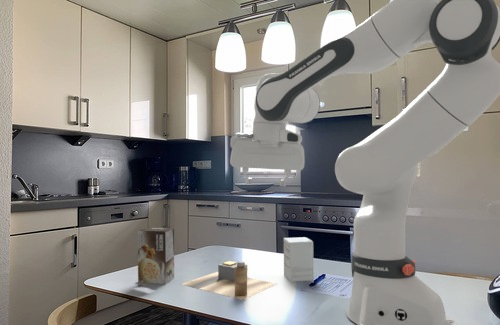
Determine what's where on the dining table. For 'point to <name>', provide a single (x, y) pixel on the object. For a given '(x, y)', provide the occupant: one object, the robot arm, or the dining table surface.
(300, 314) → the dining table surface
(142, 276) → the brown food box
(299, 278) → the supplement box
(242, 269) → the marker peg
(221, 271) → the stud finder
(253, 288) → the plywood board
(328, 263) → the dining table surface
